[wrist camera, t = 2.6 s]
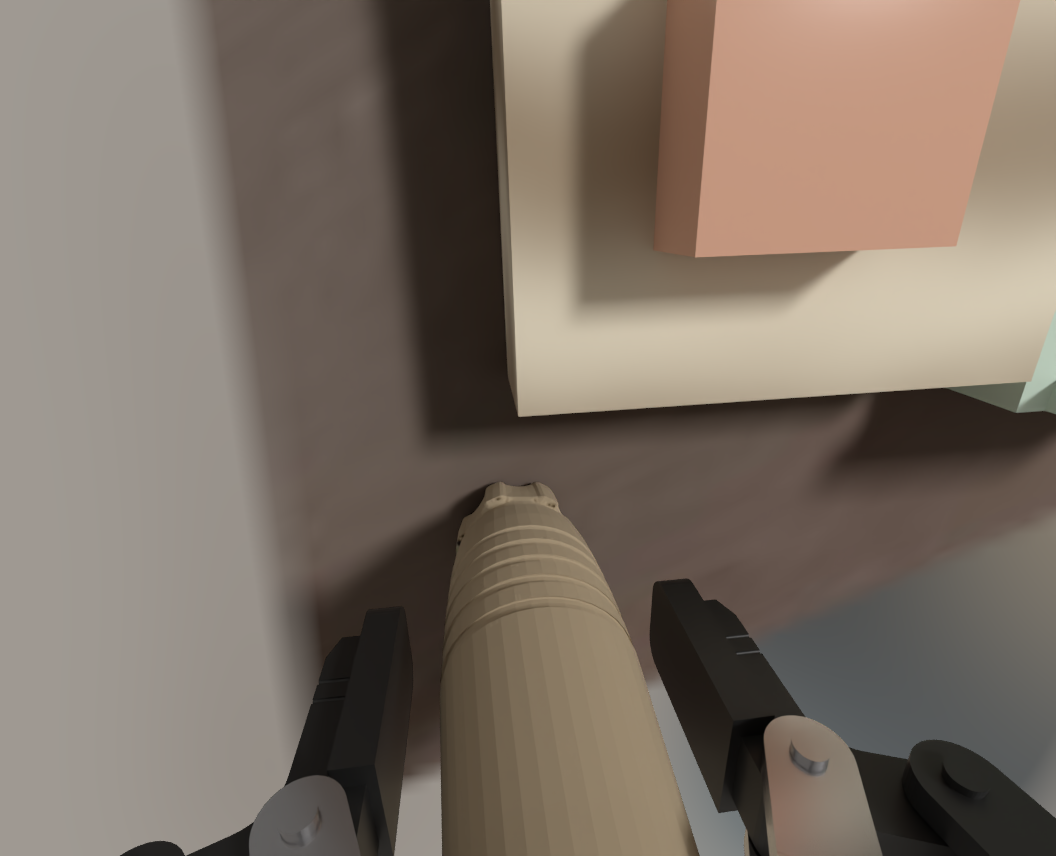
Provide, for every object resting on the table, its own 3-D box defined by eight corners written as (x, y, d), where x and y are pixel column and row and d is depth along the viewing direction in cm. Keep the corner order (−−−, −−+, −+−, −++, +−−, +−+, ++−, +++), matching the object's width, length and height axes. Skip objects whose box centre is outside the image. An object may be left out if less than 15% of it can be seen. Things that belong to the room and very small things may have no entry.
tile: (669, -44, 8) (727, -117, 7) (926, -41, 9) (1048, -109, 7) (653, 250, 10) (695, 257, 8) (870, 241, 11) (956, 246, 9)
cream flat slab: (480, -192, 10) (486, -355, 7) (1061, -171, 11) (1265, -303, 8) (508, 377, 14) (518, 416, 11) (926, 351, 15) (1031, 381, 12)
